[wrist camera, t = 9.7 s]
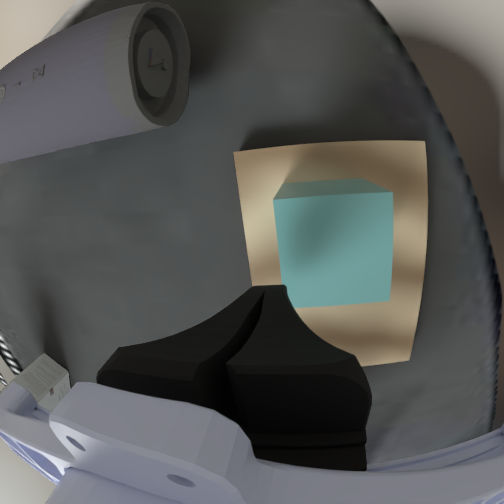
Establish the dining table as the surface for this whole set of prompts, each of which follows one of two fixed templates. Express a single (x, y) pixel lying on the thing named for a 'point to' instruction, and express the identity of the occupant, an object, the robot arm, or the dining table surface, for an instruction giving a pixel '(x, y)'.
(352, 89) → the dining table surface
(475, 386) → the dining table surface
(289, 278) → the teal foam brick
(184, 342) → the robot arm
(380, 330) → the base board
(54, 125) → the bluetooth speaker
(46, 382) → the skincare box
